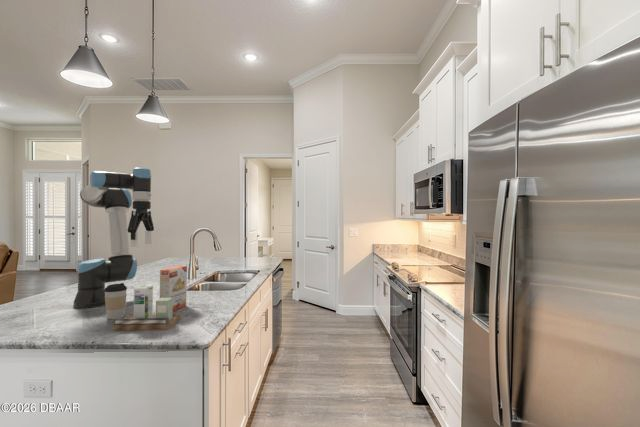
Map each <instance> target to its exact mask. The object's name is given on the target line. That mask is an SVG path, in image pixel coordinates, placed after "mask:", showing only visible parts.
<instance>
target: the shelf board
mask: <svg viewBox="0 0 640 427" xmlns="http://www.w3.org/2000/svg"><path fill="white" fill-rule="evenodd" d="M181 317H182V316H181V313H178V314H174V313H173V316H172V319H171V320H170V321H169V318H156V314H153V318H134V314H130V315H129V316H127V317H121V318H116V319H112V330H113V331H152V330H153V331H154V330H156V331H157V330H161V331H162V330H163V331H164V330H167V331H168V330H169V329H171V328H172V327H173V326H174V325H175V324H176V323H178V322H179V321H180V320H181Z"/></svg>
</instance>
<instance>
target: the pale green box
mask: <svg viewBox="0 0 640 427" xmlns="http://www.w3.org/2000/svg"><path fill="white" fill-rule="evenodd" d="M159 298H160V297H159ZM159 298H158V299H156V300H155V315H156V318H169V321H170V320H171V319H172V316H173V314H174V313H173V312H174V311H173V298H160V299H159Z"/></svg>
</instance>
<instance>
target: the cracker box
mask: <svg viewBox="0 0 640 427" xmlns="http://www.w3.org/2000/svg"><path fill="white" fill-rule="evenodd" d="M187 274H188V266H185V265H175V266H172V267H167V268H162V269H160V270H159V297H158V299H160V298H173V312H175V311H177V310H179V309H182V308H184V307H187V284H188V283H187V282H188V279H187V278H188V275H187Z"/></svg>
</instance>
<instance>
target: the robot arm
mask: <svg viewBox="0 0 640 427" xmlns="http://www.w3.org/2000/svg"><path fill="white" fill-rule="evenodd" d="M151 184H152V174H151V169H149V168H146V167H145V168H144V167H134V168H133V169H132V173H122V172H110V171H103V170H102V171H101V170H98V171H97V170H93V171H91V172H90V176H89V184H88V185H86V186H84V187H83V188H82V189H81V190H80V193H79V197H80V200H81V201H82V202H83V203H85V204H86V205H88V206H90V207H94V208H104V211H105V212H106V213H107V214H108V222H109V223H108V225H109V226H108V227H109V240H110V253H111V254H110V256H109V257H108V260H106V259H105V258H102V257H101V258H94V259H89V260H84V261H82V262H80V263H79V264H78V266H77V292H76V295H75V297H74V300H73V304H72V305H73V308H75V309H91V308H99V307H102V306H106V304H105V291H104V290H105V288H106V283H115V282H123V281H124V282H125V281H129V280H130V281H131V280H133V279H134V278H135V277H136V274H137V271H138V261H137V259H136V258H134V256H133V254H132V253H130V248H138V245H139V244H138V242H139V241H138V228H140V224H141V222H142V224H143V227H144V228H145V231H144V232H145V234H144V245H152V232H153V231H155V230H154V229H155V227H154V223H153V217H152V211H151V206H152V203H151V196H152V192H151V191H152V190H151V189H152V187H151V186H152V185H151ZM129 190H131V191H132V195H131V192H130V191H129ZM131 207H132V209H133V210H132V211H131V216H130V219H129V224H128V221H127V220H128V219H127V212H128V211H129V209H130V208H131ZM128 233H130V245H129V234H128ZM129 247H130V248H129Z"/></svg>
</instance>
